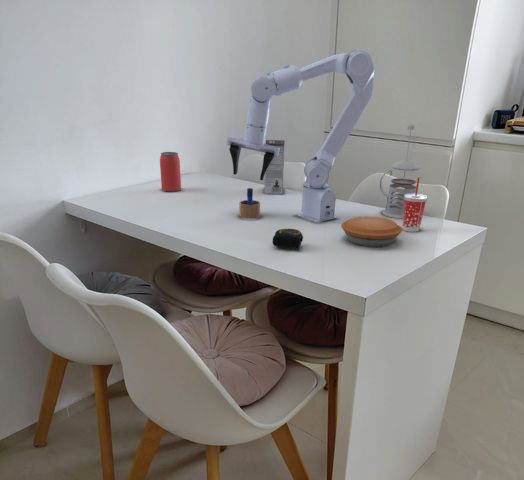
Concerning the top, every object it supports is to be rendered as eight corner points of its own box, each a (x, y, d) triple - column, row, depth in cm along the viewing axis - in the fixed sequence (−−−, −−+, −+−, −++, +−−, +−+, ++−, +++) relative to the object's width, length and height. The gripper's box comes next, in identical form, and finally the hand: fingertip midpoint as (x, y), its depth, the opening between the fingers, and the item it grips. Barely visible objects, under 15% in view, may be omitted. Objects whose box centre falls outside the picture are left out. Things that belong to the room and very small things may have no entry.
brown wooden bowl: (264, 217, 156) (264, 203, 154) (248, 221, 153) (248, 206, 151) (251, 213, 160) (251, 199, 158) (235, 216, 157) (235, 201, 155)
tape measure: (271, 249, 131) (271, 234, 130) (278, 241, 137) (278, 226, 135) (298, 252, 130) (299, 237, 128) (304, 244, 136) (305, 229, 134)
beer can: (185, 189, 186) (183, 153, 180) (172, 193, 181) (170, 155, 175) (170, 187, 189) (168, 150, 183) (157, 190, 184) (155, 153, 178)
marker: (253, 215, 157) (253, 188, 153) (250, 216, 155) (250, 189, 152) (248, 214, 157) (249, 187, 154) (245, 215, 156) (246, 188, 153)
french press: (414, 219, 158) (428, 127, 146) (374, 215, 161) (384, 125, 149) (416, 211, 166) (430, 123, 154) (378, 207, 169) (389, 121, 157)
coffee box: (264, 187, 191) (265, 139, 183) (282, 188, 191) (284, 139, 183) (264, 193, 183) (265, 143, 175) (283, 194, 183) (285, 144, 175)
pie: (359, 252, 131) (362, 232, 128) (329, 234, 143) (330, 215, 141) (413, 246, 136) (416, 226, 133) (379, 229, 148) (381, 211, 146)
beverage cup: (413, 225, 152) (421, 174, 146) (426, 231, 148) (435, 178, 141) (395, 227, 150) (402, 175, 144) (407, 233, 146) (415, 179, 139)
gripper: (227, 121, 143) (220, 173, 150) (280, 132, 143) (271, 184, 149) (232, 119, 149) (225, 169, 156) (283, 130, 149) (274, 180, 155)
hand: (248, 176), depth 153 cm, fingers open, 7 cm apart
